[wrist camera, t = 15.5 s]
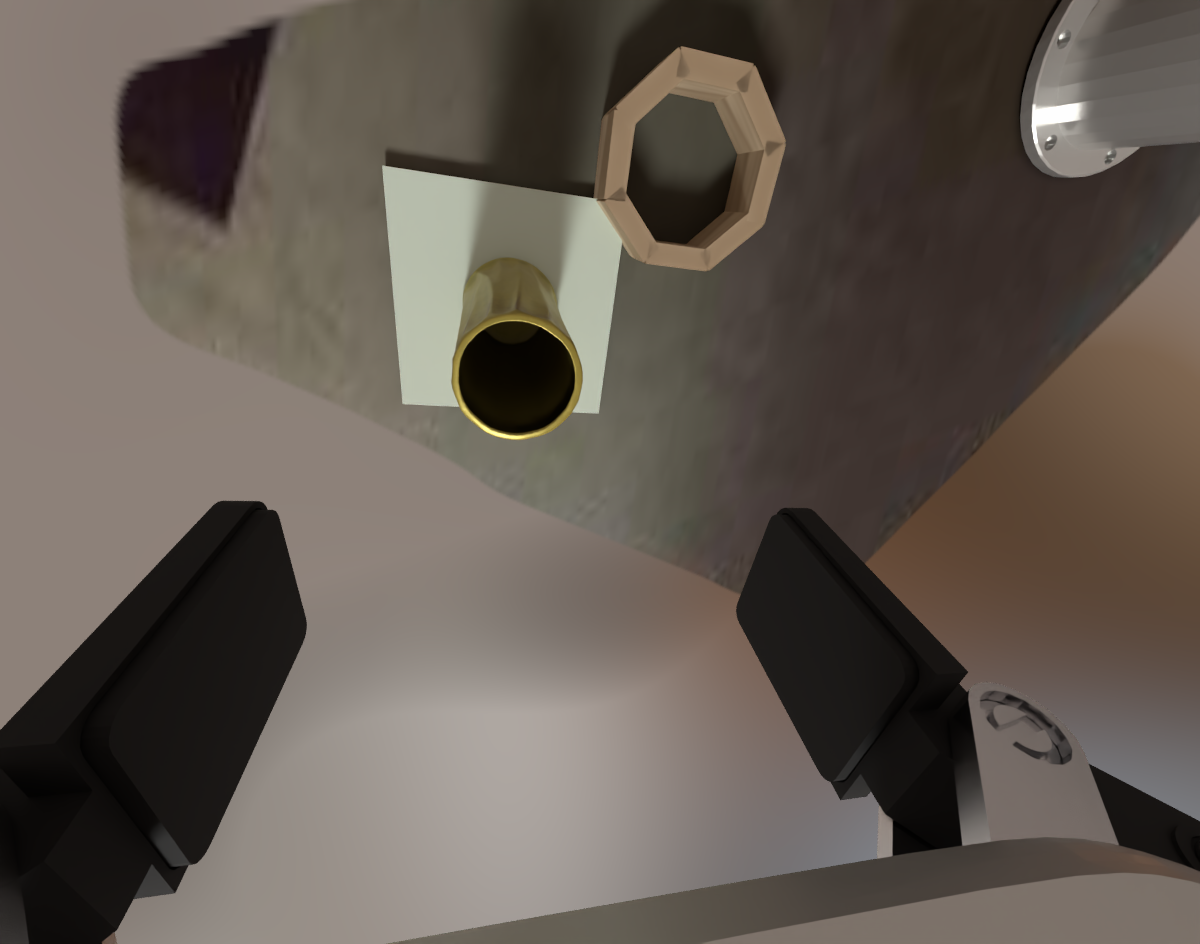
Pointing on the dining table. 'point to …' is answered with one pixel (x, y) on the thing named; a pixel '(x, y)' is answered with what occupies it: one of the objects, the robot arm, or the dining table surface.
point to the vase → (514, 353)
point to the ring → (748, 129)
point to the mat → (476, 236)
